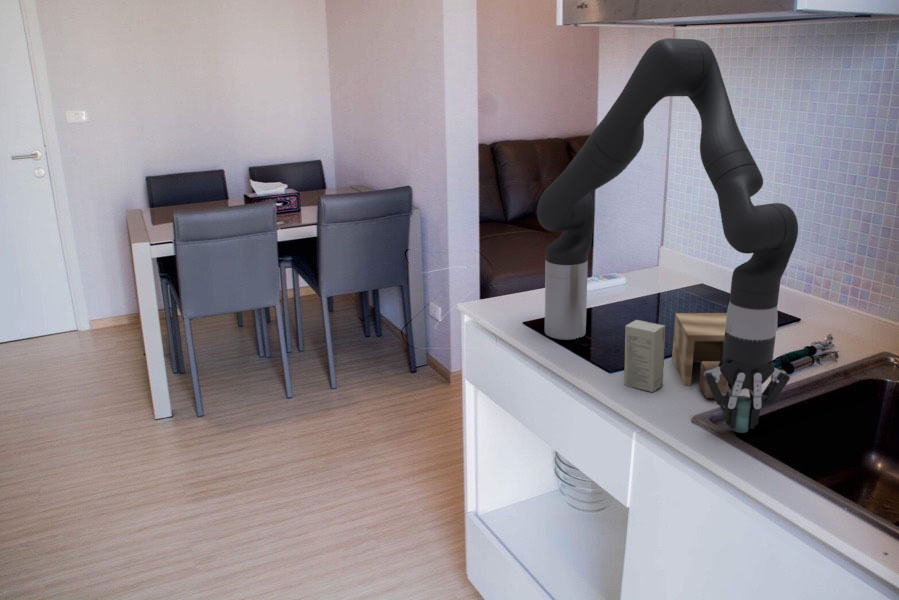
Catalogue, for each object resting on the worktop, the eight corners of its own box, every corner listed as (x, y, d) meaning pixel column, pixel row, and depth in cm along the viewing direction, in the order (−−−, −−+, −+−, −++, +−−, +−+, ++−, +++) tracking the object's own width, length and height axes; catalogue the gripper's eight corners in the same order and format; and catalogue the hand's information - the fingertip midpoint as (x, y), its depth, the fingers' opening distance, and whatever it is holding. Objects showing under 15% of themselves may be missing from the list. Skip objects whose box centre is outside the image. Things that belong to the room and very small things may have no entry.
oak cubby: (671, 359, 153) (675, 313, 150) (724, 360, 152) (728, 313, 149) (684, 385, 142) (688, 335, 138) (740, 385, 141) (746, 335, 138)
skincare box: (663, 385, 142) (667, 325, 138) (652, 393, 139) (656, 332, 135) (633, 376, 146) (636, 318, 142) (621, 384, 143) (624, 324, 139)
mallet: (699, 385, 140) (701, 358, 138) (726, 385, 140) (729, 358, 138) (726, 432, 123) (729, 402, 121) (757, 432, 123) (761, 402, 121)
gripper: (787, 321, 121) (775, 416, 127) (699, 320, 123) (691, 415, 128) (804, 338, 114) (791, 438, 120) (711, 338, 115) (702, 437, 121)
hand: (739, 425), depth 124 cm, fingers closed on mallet, 2 cm apart
